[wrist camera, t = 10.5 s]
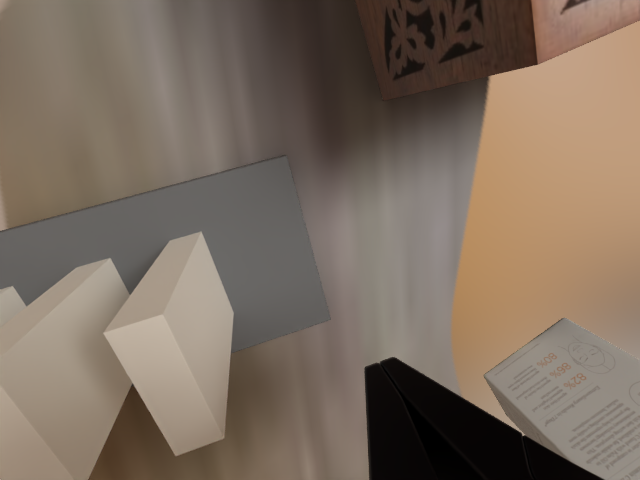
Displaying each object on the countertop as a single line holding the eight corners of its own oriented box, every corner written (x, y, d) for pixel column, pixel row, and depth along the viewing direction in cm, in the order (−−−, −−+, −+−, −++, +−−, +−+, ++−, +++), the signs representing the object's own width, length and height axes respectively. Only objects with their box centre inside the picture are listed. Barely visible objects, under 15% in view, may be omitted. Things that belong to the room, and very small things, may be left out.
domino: (110, 257, 16) (-13, 369, 8) (152, 338, 17) (83, 490, 10) (76, 267, 16) (-81, 390, 8) (122, 348, 17) (29, 510, 10)
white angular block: (201, 231, 16) (162, 314, 9) (233, 312, 18) (224, 438, 11) (169, 240, 16) (103, 333, 9) (205, 321, 18) (175, 456, 10)
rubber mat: (327, 312, 20) (330, 319, 20) (-132, 466, 17) (-149, 481, 16) (284, 154, 17) (286, 155, 16) (-303, 312, 14) (-336, 322, 13)
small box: (503, 413, 27) (647, 570, 17) (480, 373, 25) (629, 527, 15) (581, 358, 27) (770, 485, 17) (564, 314, 25) (768, 430, 15)
